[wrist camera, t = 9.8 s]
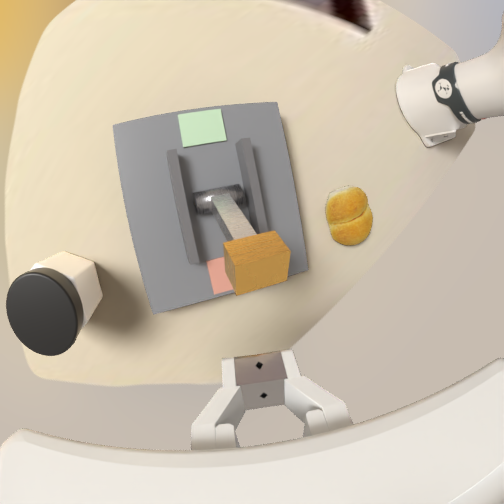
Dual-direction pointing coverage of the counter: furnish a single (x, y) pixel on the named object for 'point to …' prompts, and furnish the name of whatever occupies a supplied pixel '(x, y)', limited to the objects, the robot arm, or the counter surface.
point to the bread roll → (348, 215)
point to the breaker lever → (244, 242)
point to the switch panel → (198, 179)
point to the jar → (53, 302)
